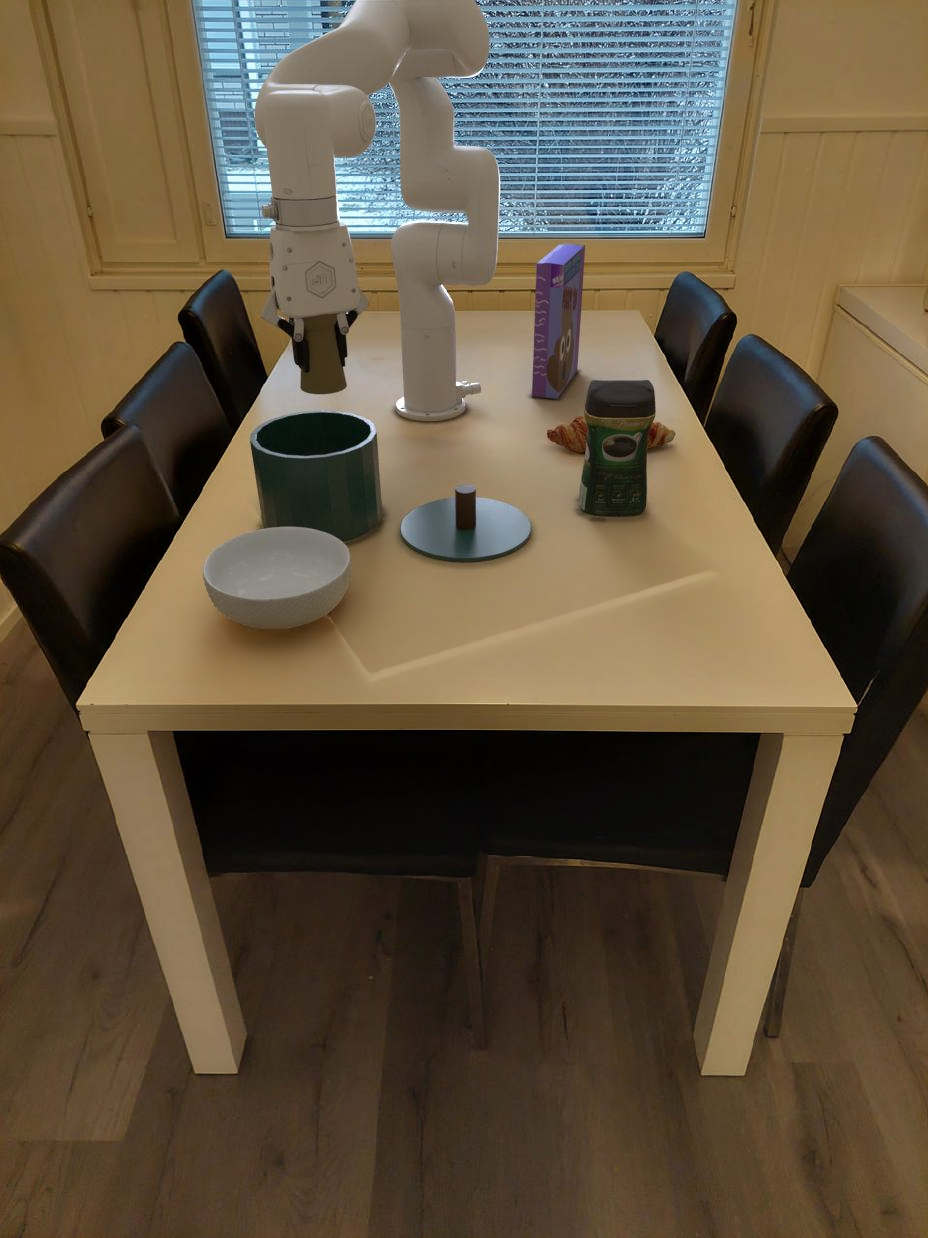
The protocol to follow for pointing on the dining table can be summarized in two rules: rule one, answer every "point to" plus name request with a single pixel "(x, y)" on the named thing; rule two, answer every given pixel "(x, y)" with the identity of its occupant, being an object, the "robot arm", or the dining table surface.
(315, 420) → the tin
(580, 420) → the croissant
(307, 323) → the olive brown pawn
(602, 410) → the coffee jar
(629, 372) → the dining table surface
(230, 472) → the dining table surface
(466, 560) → the tin lid
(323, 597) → the cereal bowl
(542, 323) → the cereal box
